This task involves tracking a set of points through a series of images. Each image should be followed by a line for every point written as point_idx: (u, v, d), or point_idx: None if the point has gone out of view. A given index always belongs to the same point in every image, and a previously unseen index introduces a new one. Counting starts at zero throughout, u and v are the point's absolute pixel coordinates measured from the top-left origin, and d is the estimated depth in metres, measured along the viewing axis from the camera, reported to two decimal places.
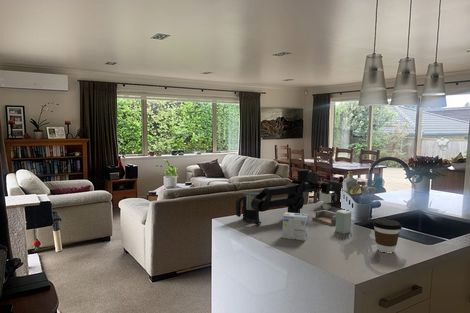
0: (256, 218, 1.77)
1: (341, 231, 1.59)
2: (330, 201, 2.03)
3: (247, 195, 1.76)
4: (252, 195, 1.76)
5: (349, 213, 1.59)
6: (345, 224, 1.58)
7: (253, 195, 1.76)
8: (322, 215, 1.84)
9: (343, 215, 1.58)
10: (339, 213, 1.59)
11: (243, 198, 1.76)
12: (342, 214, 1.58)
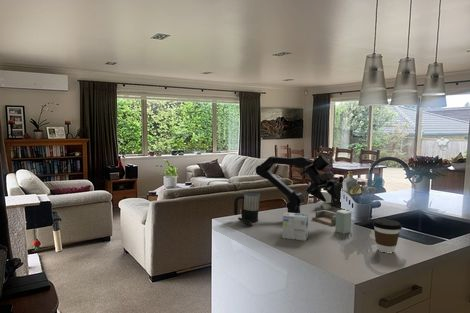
0: (252, 219, 1.75)
1: (341, 231, 1.59)
2: (330, 201, 2.03)
3: (245, 195, 1.75)
4: (249, 195, 1.74)
5: (349, 213, 1.59)
6: (345, 224, 1.58)
7: (250, 195, 1.73)
8: (322, 215, 1.84)
9: (343, 215, 1.58)
10: (339, 213, 1.59)
11: (240, 197, 1.76)
12: (342, 214, 1.58)
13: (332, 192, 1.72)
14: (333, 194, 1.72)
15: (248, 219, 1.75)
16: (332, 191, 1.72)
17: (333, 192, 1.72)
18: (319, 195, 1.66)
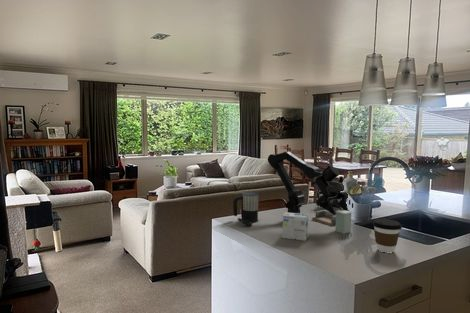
0: (252, 219, 1.75)
1: (341, 231, 1.59)
2: None
3: (243, 195, 1.75)
4: (248, 196, 1.74)
5: (349, 213, 1.59)
6: (345, 224, 1.58)
7: (249, 196, 1.74)
8: (322, 215, 1.84)
9: (343, 215, 1.58)
10: (339, 213, 1.59)
11: (239, 198, 1.76)
12: (342, 214, 1.58)
13: (342, 204, 1.67)
14: (343, 207, 1.66)
15: (248, 219, 1.75)
16: (342, 203, 1.67)
17: (343, 204, 1.66)
18: (329, 208, 1.60)
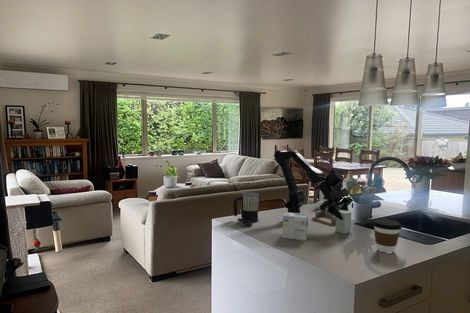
0: (252, 219, 1.75)
1: (341, 231, 1.59)
2: None
3: (243, 195, 1.75)
4: (248, 196, 1.74)
5: (349, 213, 1.59)
6: (345, 224, 1.58)
7: (249, 196, 1.74)
8: (322, 215, 1.84)
9: (343, 215, 1.58)
10: None
11: (239, 198, 1.76)
12: (342, 214, 1.58)
13: None
14: None
15: (248, 220, 1.75)
16: (344, 209, 1.64)
17: None
18: (336, 213, 1.59)
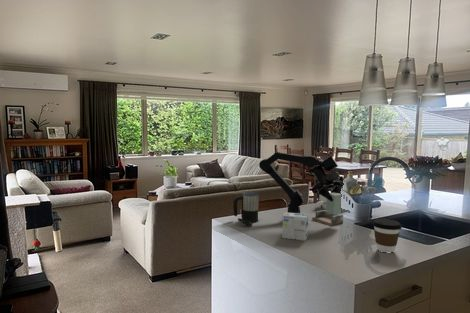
0: (252, 219, 1.75)
1: (331, 212, 1.68)
2: None
3: (244, 195, 1.75)
4: (248, 196, 1.74)
5: (339, 195, 1.68)
6: (335, 206, 1.67)
7: (249, 196, 1.73)
8: (322, 215, 1.84)
9: (333, 197, 1.67)
10: None
11: (239, 198, 1.76)
12: (332, 196, 1.67)
13: None
14: None
15: (248, 220, 1.74)
16: (335, 192, 1.73)
17: None
18: (326, 195, 1.69)
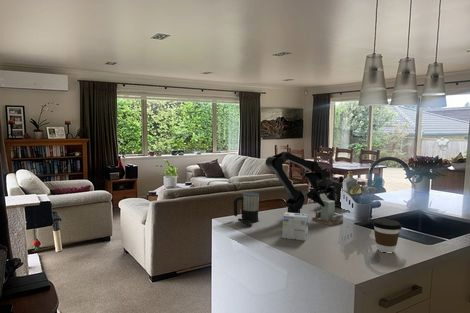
0: (252, 220, 1.74)
1: (325, 218, 1.77)
2: None
3: (244, 195, 1.75)
4: (248, 196, 1.74)
5: (333, 202, 1.77)
6: (329, 212, 1.76)
7: (249, 196, 1.73)
8: None
9: (327, 204, 1.76)
10: (324, 202, 1.77)
11: (240, 198, 1.76)
12: (326, 203, 1.76)
13: (331, 197, 1.82)
14: (332, 199, 1.82)
15: (248, 220, 1.74)
16: (331, 196, 1.83)
17: (332, 197, 1.82)
18: (318, 200, 1.76)
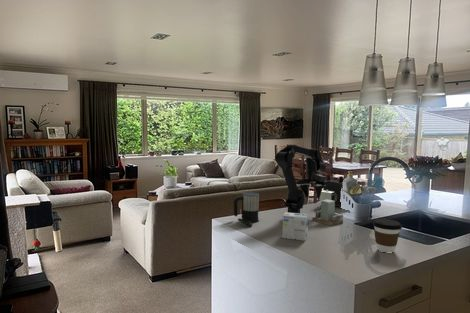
0: (252, 220, 1.74)
1: (325, 218, 1.77)
2: None
3: (244, 195, 1.75)
4: (248, 196, 1.73)
5: (333, 202, 1.77)
6: (329, 212, 1.76)
7: (249, 196, 1.73)
8: None
9: (327, 204, 1.76)
10: (324, 202, 1.77)
11: (240, 198, 1.76)
12: (326, 203, 1.76)
13: (318, 190, 1.91)
14: (317, 192, 1.91)
15: (248, 220, 1.74)
16: (318, 189, 1.91)
17: (319, 191, 1.90)
18: (305, 190, 1.85)
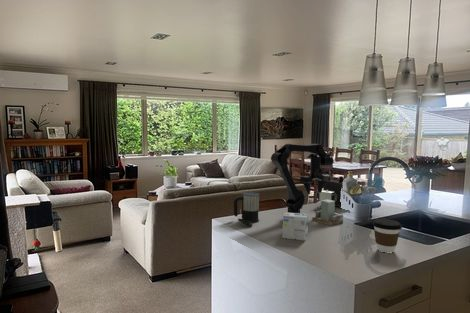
0: (252, 220, 1.74)
1: (325, 218, 1.77)
2: None
3: (244, 195, 1.75)
4: (248, 196, 1.73)
5: (333, 202, 1.77)
6: (329, 212, 1.76)
7: (249, 196, 1.73)
8: None
9: (327, 204, 1.76)
10: (324, 202, 1.77)
11: (240, 198, 1.75)
12: (326, 203, 1.76)
13: (320, 185, 1.91)
14: (319, 187, 1.92)
15: (248, 220, 1.74)
16: (321, 184, 1.91)
17: (321, 185, 1.91)
18: (307, 187, 1.85)
